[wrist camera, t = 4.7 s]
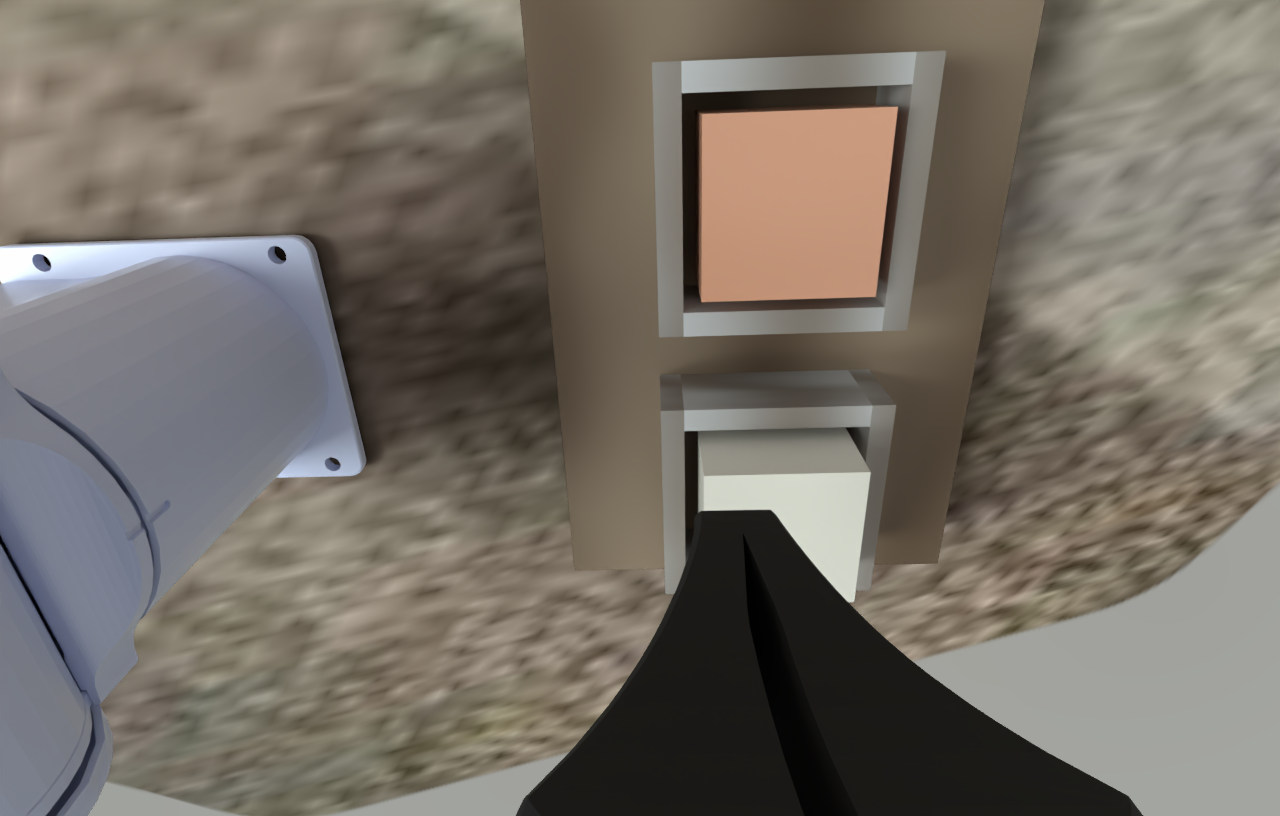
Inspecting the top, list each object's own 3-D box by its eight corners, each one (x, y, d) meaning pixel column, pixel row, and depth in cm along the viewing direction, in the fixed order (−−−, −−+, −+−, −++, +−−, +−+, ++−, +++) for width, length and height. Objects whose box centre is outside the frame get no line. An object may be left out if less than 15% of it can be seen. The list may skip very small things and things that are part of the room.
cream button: (697, 549, 20) (703, 604, 18) (697, 430, 19) (704, 475, 16) (831, 546, 20) (854, 601, 18) (845, 426, 18) (871, 472, 16)
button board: (580, 534, 25) (566, 621, 21) (496, -409, 14) (436, -600, 10) (916, 527, 24) (968, 614, 20) (1080, -444, 14) (1252, -655, 10)
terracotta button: (695, 275, 18) (701, 302, 16) (695, 110, 16) (702, 114, 14) (848, 270, 18) (875, 297, 16) (864, 103, 16) (898, 106, 14)
